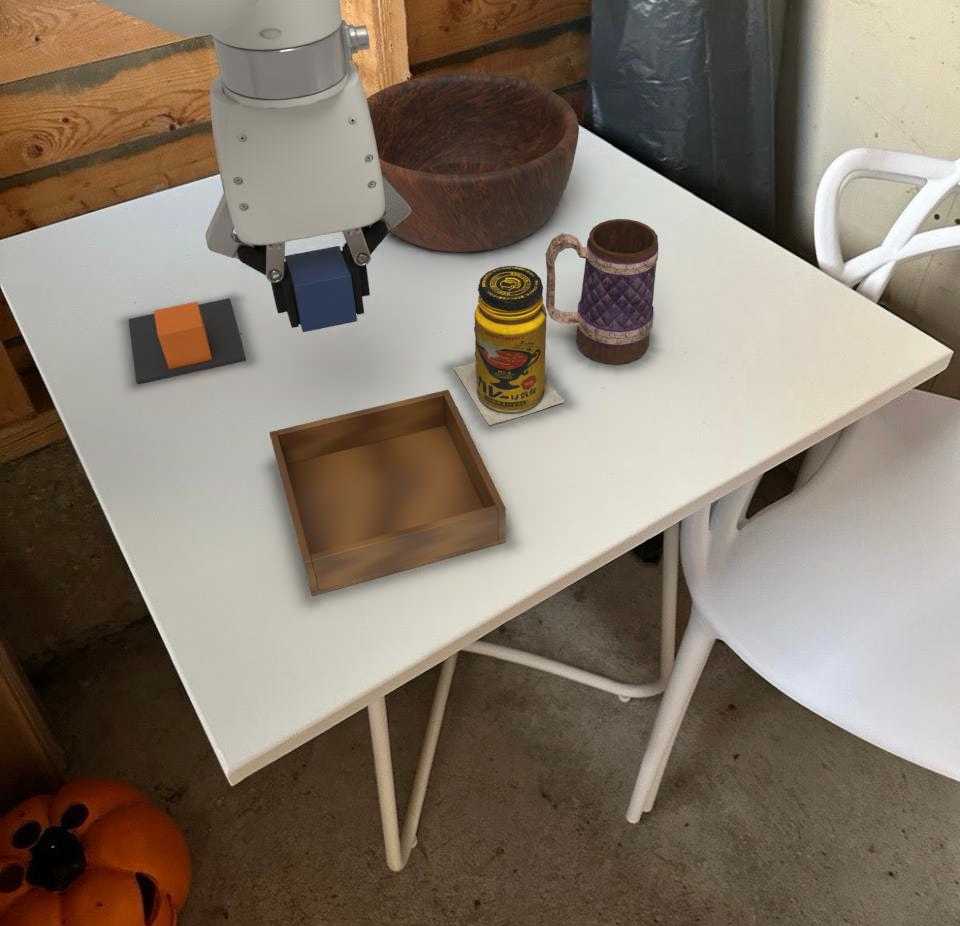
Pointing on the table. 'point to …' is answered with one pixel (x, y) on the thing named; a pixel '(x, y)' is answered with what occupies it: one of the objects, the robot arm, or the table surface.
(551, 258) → the mug
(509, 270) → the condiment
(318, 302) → the blue cube
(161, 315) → the orange cube
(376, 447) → the tray
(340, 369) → the table surface
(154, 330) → the mat
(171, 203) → the table surface
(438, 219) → the wooden bowl
